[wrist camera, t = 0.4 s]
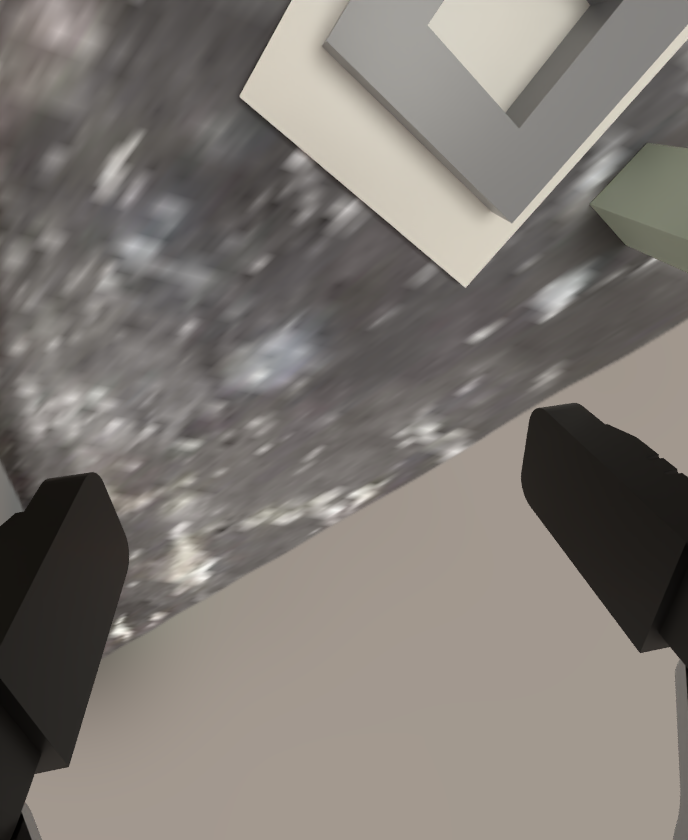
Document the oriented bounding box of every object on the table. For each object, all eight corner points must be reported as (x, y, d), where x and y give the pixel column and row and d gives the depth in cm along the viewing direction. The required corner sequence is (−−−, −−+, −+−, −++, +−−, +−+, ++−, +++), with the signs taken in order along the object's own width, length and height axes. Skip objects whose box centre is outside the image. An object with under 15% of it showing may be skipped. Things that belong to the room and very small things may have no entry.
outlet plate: (556, -481, 16) (627, -630, 12) (760, -58, 22) (842, -84, 19) (240, 96, 24) (233, 97, 20) (460, 282, 30) (481, 305, 27)
